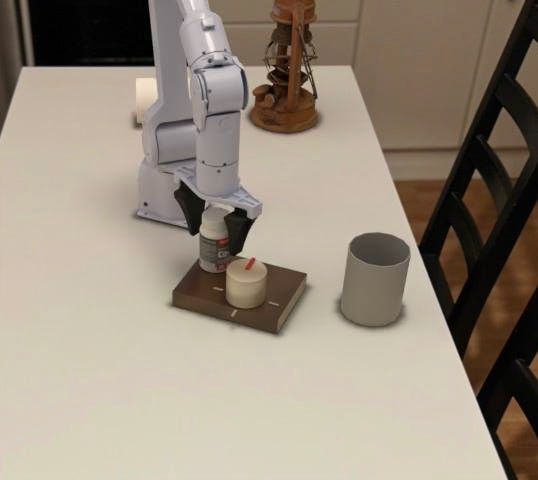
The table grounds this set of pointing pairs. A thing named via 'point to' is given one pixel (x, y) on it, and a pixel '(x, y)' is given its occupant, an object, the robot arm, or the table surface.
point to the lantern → (288, 72)
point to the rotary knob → (246, 283)
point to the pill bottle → (214, 241)
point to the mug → (147, 95)
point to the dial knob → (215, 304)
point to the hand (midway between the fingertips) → (215, 242)
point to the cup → (375, 278)
